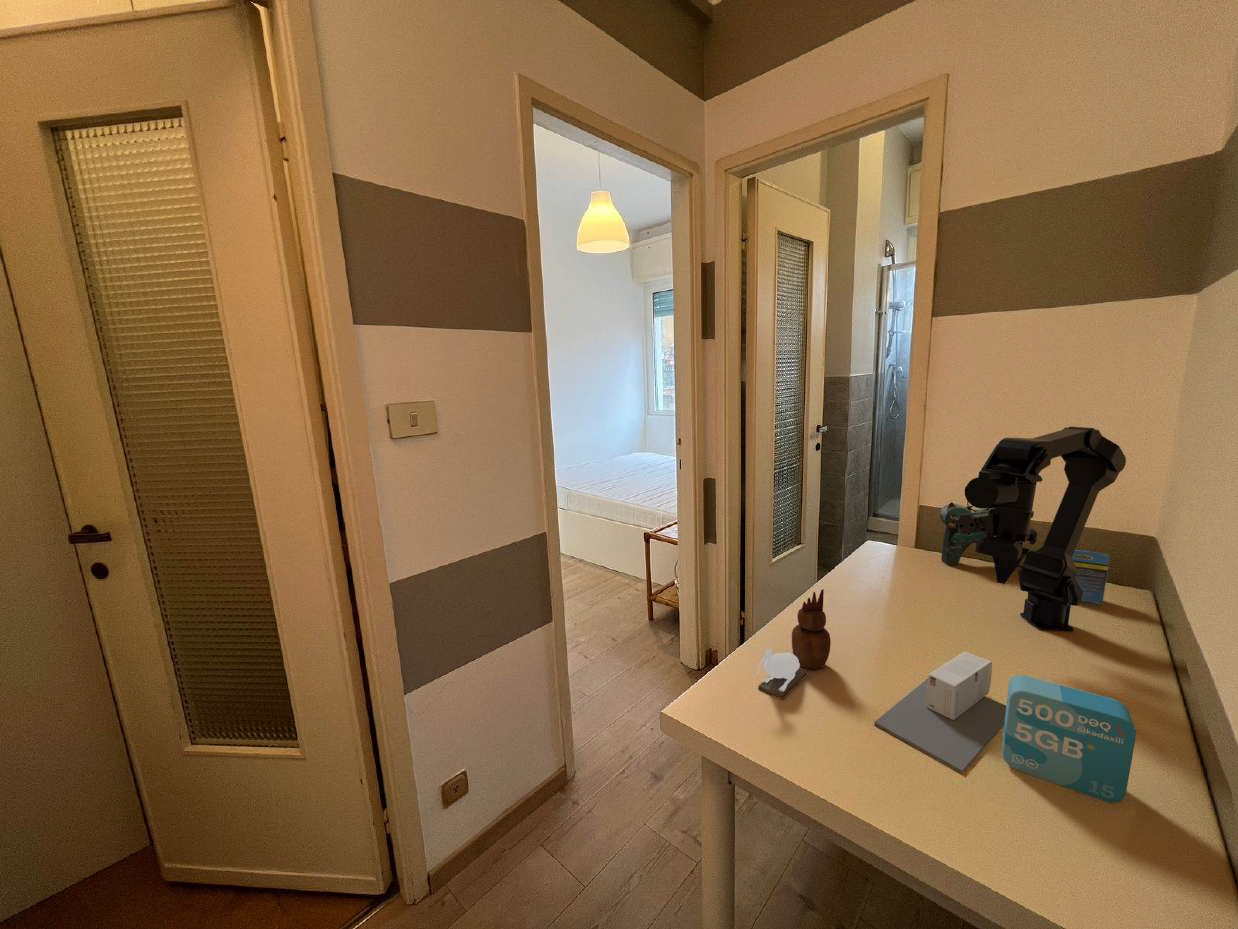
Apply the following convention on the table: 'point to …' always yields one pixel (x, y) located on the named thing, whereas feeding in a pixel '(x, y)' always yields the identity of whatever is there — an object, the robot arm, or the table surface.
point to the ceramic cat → (957, 533)
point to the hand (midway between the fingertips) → (1000, 583)
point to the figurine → (780, 673)
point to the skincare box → (958, 684)
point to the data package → (1069, 737)
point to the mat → (944, 728)
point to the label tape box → (1092, 575)
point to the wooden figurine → (811, 634)
